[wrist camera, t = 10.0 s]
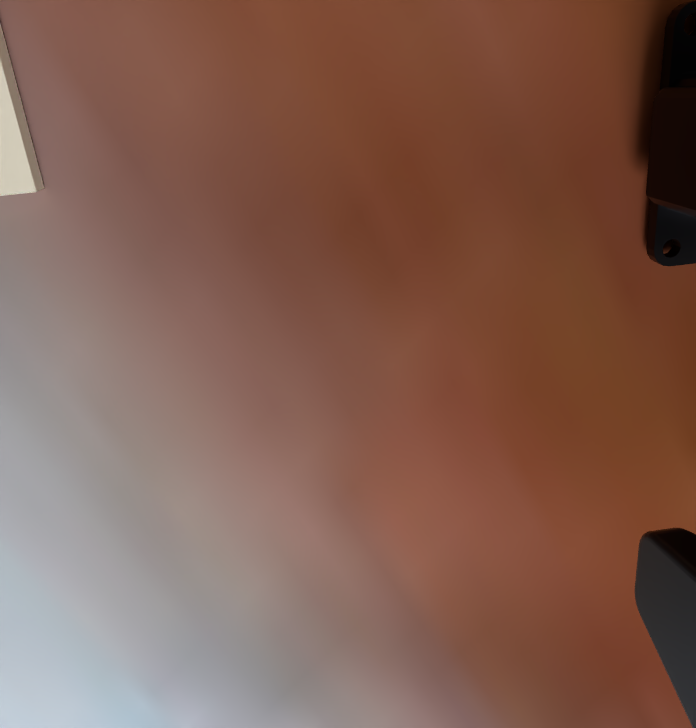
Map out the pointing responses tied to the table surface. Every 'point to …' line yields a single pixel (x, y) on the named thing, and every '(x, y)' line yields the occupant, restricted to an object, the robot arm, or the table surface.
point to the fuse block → (15, 135)
